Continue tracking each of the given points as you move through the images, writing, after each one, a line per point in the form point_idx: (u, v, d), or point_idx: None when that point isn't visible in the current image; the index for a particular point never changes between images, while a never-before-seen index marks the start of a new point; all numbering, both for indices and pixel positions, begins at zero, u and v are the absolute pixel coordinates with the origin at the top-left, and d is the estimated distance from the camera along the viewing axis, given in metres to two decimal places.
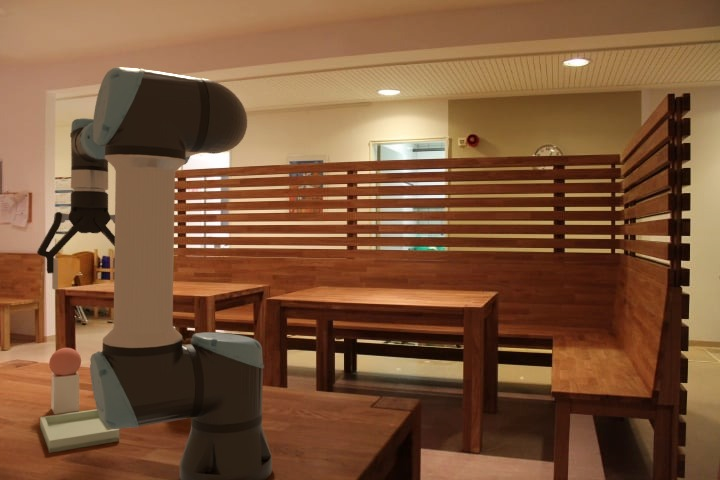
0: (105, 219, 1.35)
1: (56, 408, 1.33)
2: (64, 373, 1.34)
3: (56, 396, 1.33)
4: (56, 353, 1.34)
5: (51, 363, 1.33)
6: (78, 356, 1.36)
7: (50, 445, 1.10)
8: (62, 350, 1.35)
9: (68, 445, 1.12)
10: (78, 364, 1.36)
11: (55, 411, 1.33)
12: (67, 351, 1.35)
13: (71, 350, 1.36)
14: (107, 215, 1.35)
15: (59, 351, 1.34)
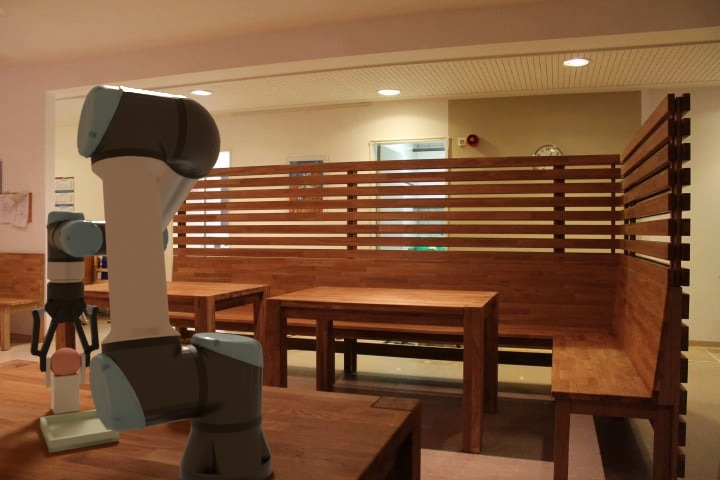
0: (80, 308, 1.36)
1: (56, 408, 1.33)
2: (64, 373, 1.34)
3: (56, 396, 1.33)
4: (56, 353, 1.34)
5: (51, 363, 1.33)
6: (78, 356, 1.36)
7: (50, 445, 1.10)
8: (62, 350, 1.35)
9: (68, 445, 1.12)
10: (78, 364, 1.36)
11: (55, 411, 1.33)
12: (67, 351, 1.35)
13: (71, 350, 1.36)
14: (84, 305, 1.37)
15: (59, 351, 1.34)
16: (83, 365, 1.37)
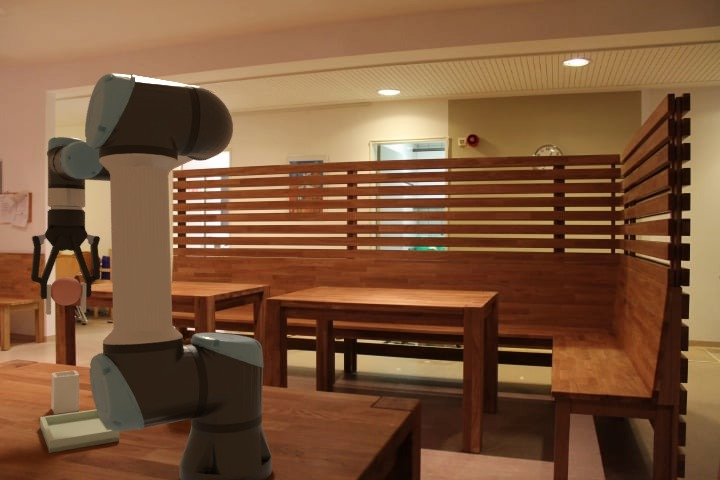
0: (81, 236, 1.36)
1: (56, 408, 1.33)
2: (65, 300, 1.33)
3: (56, 396, 1.33)
4: (57, 281, 1.33)
5: (52, 290, 1.33)
6: (79, 285, 1.35)
7: (50, 445, 1.10)
8: (63, 278, 1.34)
9: (68, 445, 1.12)
10: (79, 292, 1.35)
11: (55, 411, 1.33)
12: (68, 279, 1.34)
13: (72, 278, 1.35)
14: (85, 233, 1.36)
15: (60, 279, 1.34)
16: (84, 294, 1.36)
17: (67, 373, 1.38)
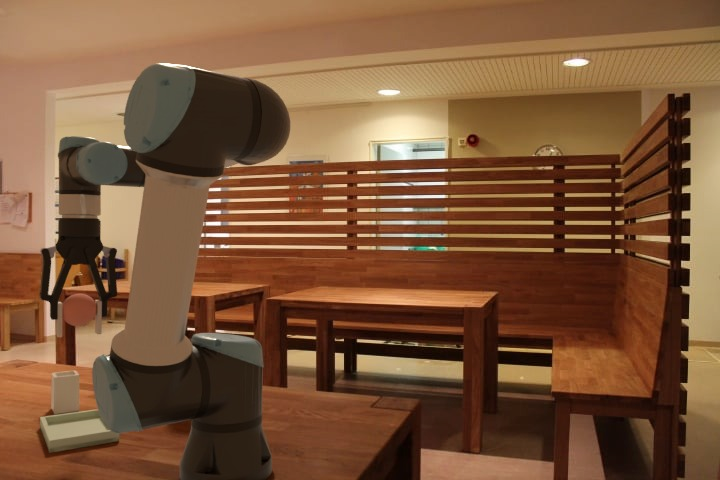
0: (96, 248, 1.20)
1: (56, 408, 1.33)
2: (78, 321, 1.18)
3: (56, 396, 1.33)
4: (69, 298, 1.18)
5: (63, 309, 1.17)
6: (93, 303, 1.20)
7: (50, 445, 1.10)
8: (76, 295, 1.19)
9: (68, 445, 1.12)
10: (94, 312, 1.19)
11: (55, 411, 1.33)
12: (81, 297, 1.19)
13: (86, 296, 1.19)
14: (100, 245, 1.21)
15: (72, 296, 1.18)
16: (99, 314, 1.21)
17: (67, 373, 1.38)
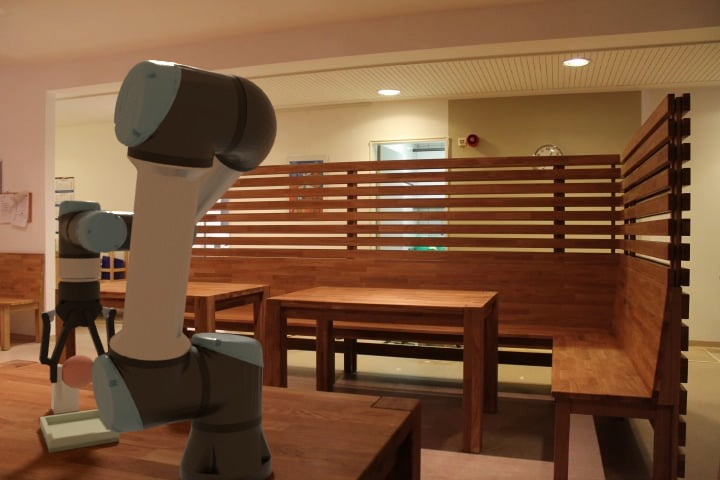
0: (96, 310, 1.21)
1: (56, 408, 1.33)
2: (78, 384, 1.18)
3: None
4: (68, 361, 1.18)
5: (63, 373, 1.18)
6: None
7: (50, 445, 1.10)
8: (75, 358, 1.19)
9: (68, 445, 1.12)
10: None
11: (55, 411, 1.33)
12: (81, 359, 1.19)
13: (85, 358, 1.20)
14: (100, 307, 1.21)
15: (72, 359, 1.19)
16: None
17: None
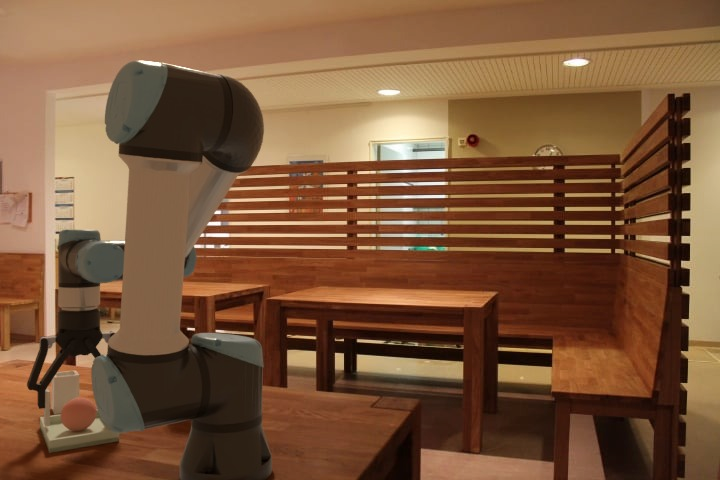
0: (96, 338, 1.21)
1: (56, 408, 1.33)
2: (78, 427, 1.18)
3: (56, 396, 1.33)
4: (68, 404, 1.18)
5: (63, 416, 1.18)
6: (93, 407, 1.20)
7: (50, 445, 1.10)
8: (75, 401, 1.19)
9: (68, 445, 1.12)
10: (93, 416, 1.20)
11: (55, 411, 1.33)
12: (81, 402, 1.19)
13: (85, 400, 1.20)
14: (99, 334, 1.21)
15: (72, 402, 1.19)
16: None
17: (67, 373, 1.38)
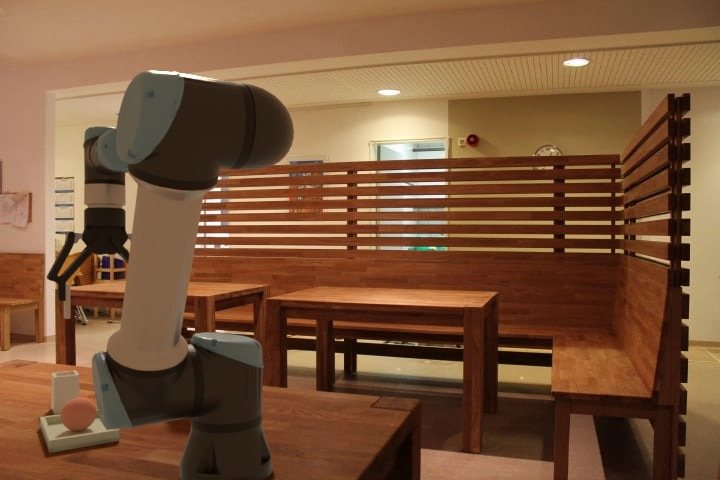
0: (122, 239, 1.21)
1: (56, 408, 1.33)
2: (78, 427, 1.18)
3: (56, 396, 1.33)
4: (69, 404, 1.18)
5: (63, 416, 1.18)
6: (93, 407, 1.20)
7: (50, 445, 1.10)
8: (75, 401, 1.19)
9: (68, 445, 1.12)
10: (93, 416, 1.20)
11: (55, 411, 1.33)
12: (81, 402, 1.19)
13: (85, 400, 1.20)
14: (124, 234, 1.21)
15: (72, 402, 1.19)
16: None
17: (67, 373, 1.38)
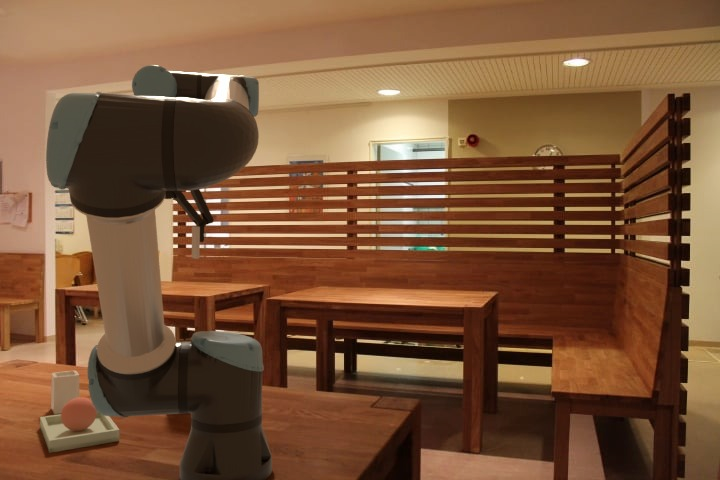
0: None
1: (56, 408, 1.33)
2: (78, 427, 1.18)
3: (56, 396, 1.33)
4: (69, 404, 1.18)
5: (63, 416, 1.18)
6: (93, 407, 1.20)
7: (50, 445, 1.10)
8: (76, 401, 1.19)
9: (68, 445, 1.12)
10: (93, 416, 1.20)
11: (55, 411, 1.33)
12: (81, 402, 1.19)
13: (86, 400, 1.20)
14: None
15: (72, 402, 1.19)
16: (197, 238, 1.24)
17: (67, 373, 1.38)
